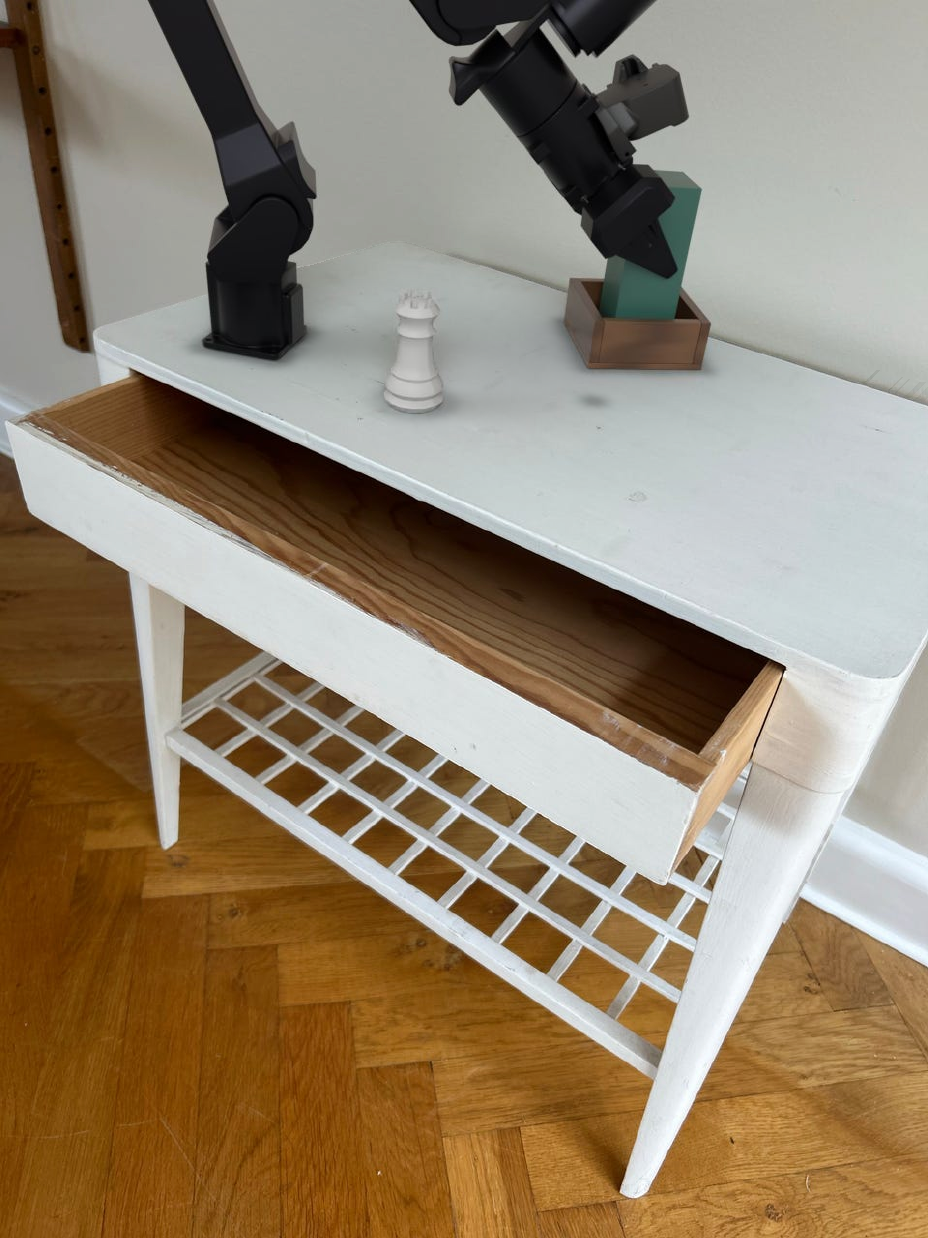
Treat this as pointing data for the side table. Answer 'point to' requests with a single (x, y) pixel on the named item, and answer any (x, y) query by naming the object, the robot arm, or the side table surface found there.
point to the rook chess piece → (415, 356)
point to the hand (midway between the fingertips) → (662, 261)
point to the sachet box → (641, 289)
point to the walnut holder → (634, 333)
